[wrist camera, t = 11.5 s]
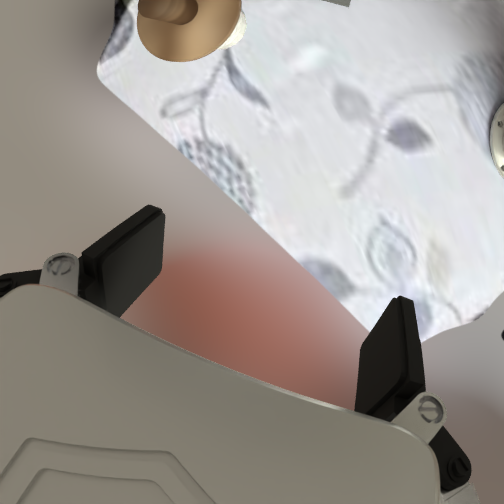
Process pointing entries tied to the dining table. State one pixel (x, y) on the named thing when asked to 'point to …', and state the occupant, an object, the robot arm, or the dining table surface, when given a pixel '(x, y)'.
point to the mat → (340, 2)
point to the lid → (186, 27)
